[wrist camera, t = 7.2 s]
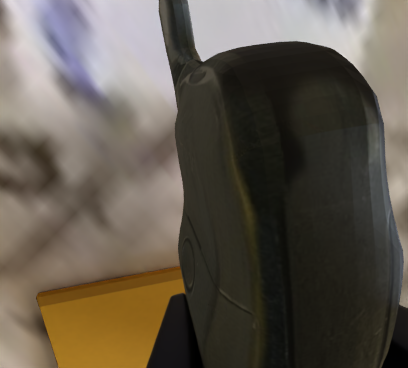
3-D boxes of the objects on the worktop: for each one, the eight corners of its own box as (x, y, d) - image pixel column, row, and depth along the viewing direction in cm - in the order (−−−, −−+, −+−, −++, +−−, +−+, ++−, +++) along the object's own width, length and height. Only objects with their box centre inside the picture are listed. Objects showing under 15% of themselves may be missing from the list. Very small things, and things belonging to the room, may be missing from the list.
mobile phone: (364, 590, 8) (522, -210, 2) (260, 643, 7) (101, -228, 2) (277, 399, 12) (254, -10, 7) (210, 423, 12) (125, 2, 6)
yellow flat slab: (311, 241, 22) (315, 244, 22) (302, 361, 27) (305, 365, 26) (37, 292, 18) (35, 297, 18) (78, 423, 23) (77, 430, 22)
